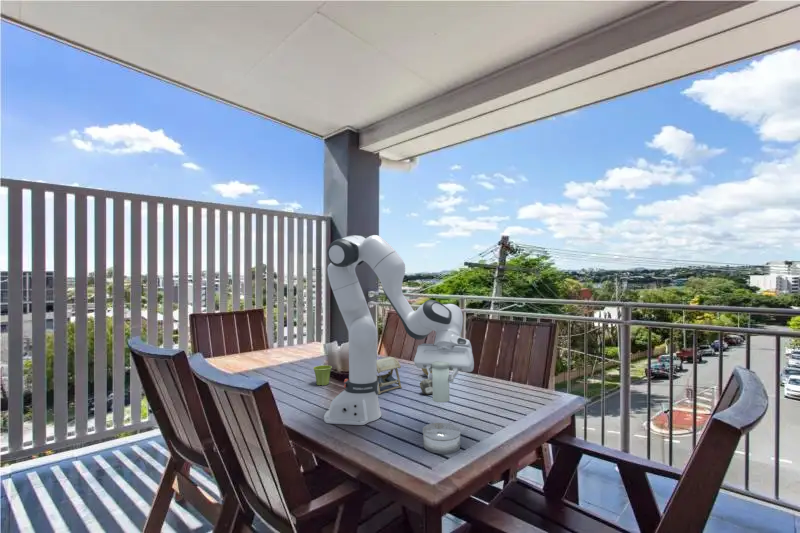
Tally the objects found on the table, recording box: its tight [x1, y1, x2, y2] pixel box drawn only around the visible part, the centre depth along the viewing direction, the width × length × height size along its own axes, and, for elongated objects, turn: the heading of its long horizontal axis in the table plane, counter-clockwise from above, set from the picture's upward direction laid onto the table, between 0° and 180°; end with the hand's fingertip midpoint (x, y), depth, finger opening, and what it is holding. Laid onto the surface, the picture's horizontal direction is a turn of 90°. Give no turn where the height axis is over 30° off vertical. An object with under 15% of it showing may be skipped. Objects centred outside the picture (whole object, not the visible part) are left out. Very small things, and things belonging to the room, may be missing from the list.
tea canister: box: [432, 361, 450, 404], centre depth 123 cm, size 6×6×12 cm
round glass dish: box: [422, 422, 462, 455], centre depth 122 cm, size 12×12×5 cm
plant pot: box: [312, 364, 333, 387], centre depth 193 cm, size 9×9×9 cm
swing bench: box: [377, 356, 402, 396], centre depth 183 cm, size 15×10×15 cm, turn 134°
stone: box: [419, 378, 433, 395], centre depth 177 cm, size 14×8×10 cm, turn 134°
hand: (440, 380), depth 122 cm, fingers closed on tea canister, 5 cm apart
